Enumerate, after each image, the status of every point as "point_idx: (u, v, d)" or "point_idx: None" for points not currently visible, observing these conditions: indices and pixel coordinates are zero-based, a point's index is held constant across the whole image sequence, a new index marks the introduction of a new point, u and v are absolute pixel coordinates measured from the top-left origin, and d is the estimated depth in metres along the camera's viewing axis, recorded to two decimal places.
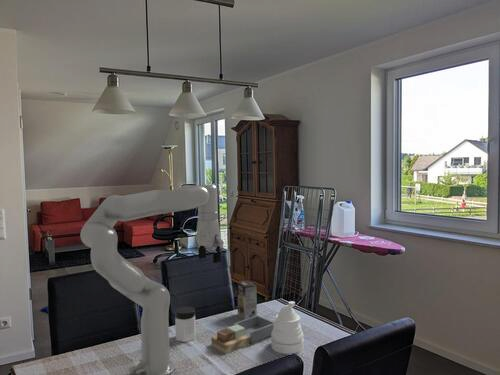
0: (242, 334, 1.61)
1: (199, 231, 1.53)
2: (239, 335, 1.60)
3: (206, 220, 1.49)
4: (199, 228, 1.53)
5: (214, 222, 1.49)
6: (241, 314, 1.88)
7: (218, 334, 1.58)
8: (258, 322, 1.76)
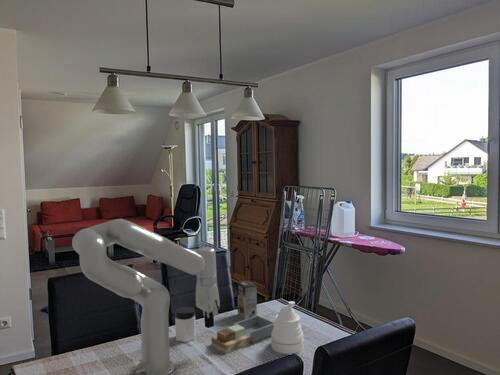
0: (242, 334, 1.61)
1: (198, 295, 1.52)
2: (239, 335, 1.60)
3: (205, 285, 1.48)
4: (198, 292, 1.51)
5: (213, 287, 1.48)
6: (241, 314, 1.88)
7: (218, 334, 1.58)
8: (258, 322, 1.76)
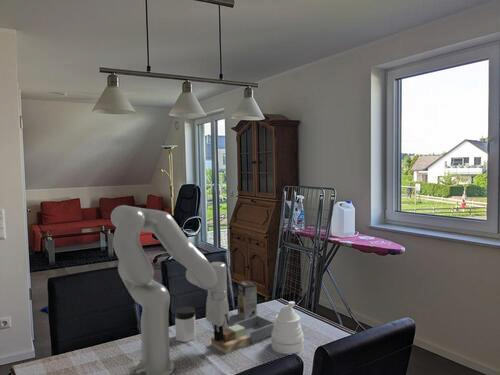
0: (242, 334, 1.61)
1: (208, 308, 1.55)
2: (239, 335, 1.60)
3: (216, 300, 1.51)
4: (208, 305, 1.55)
5: (223, 302, 1.51)
6: (241, 314, 1.88)
7: None
8: (258, 322, 1.76)
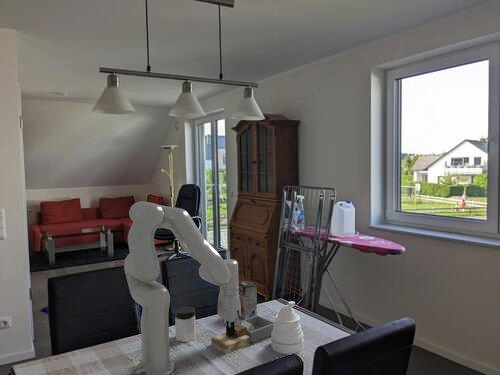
0: None
1: (220, 305, 1.59)
2: (250, 331, 1.63)
3: (228, 296, 1.55)
4: (220, 302, 1.59)
5: (235, 298, 1.55)
6: (241, 314, 1.88)
7: None
8: (258, 322, 1.76)
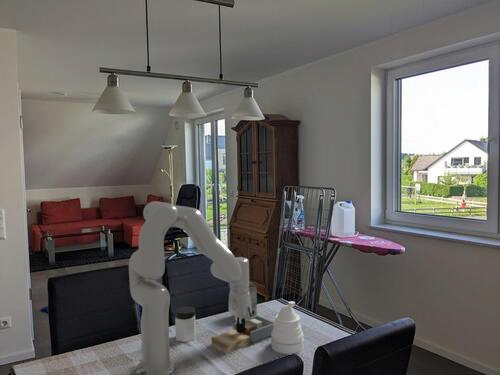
0: None
1: (231, 302, 1.62)
2: (258, 327, 1.66)
3: (239, 293, 1.59)
4: (231, 299, 1.62)
5: (246, 295, 1.59)
6: None
7: None
8: None
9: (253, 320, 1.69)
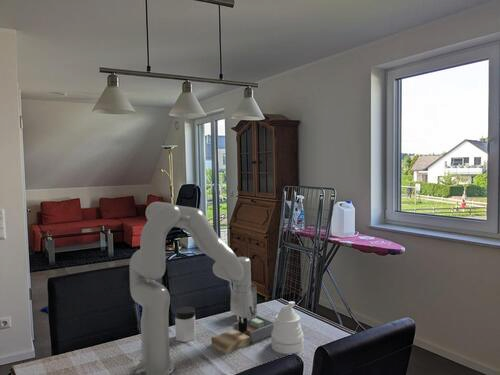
0: None
1: (233, 301, 1.63)
2: (259, 327, 1.67)
3: (241, 292, 1.59)
4: (233, 298, 1.63)
5: (248, 294, 1.59)
6: None
7: None
8: None
9: (254, 320, 1.70)
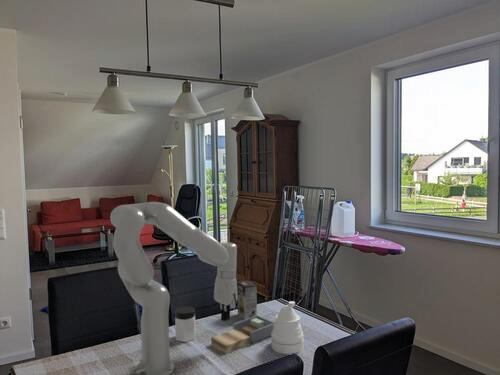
0: None
1: (217, 288, 1.57)
2: (259, 327, 1.67)
3: (225, 278, 1.54)
4: (217, 285, 1.57)
5: (233, 281, 1.54)
6: (241, 314, 1.88)
7: (243, 330, 1.66)
8: None
9: (254, 320, 1.70)
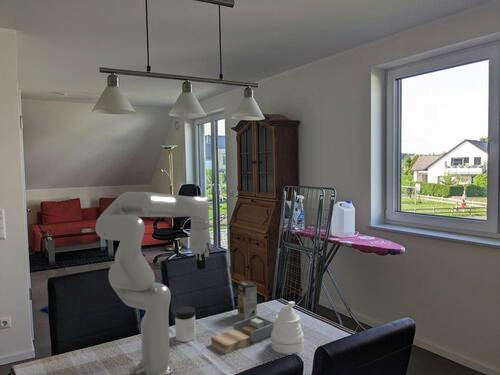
0: None
1: (191, 239, 1.65)
2: (259, 327, 1.67)
3: (198, 229, 1.61)
4: (191, 236, 1.65)
5: (205, 231, 1.62)
6: (241, 314, 1.88)
7: (243, 330, 1.66)
8: None
9: (254, 320, 1.70)
